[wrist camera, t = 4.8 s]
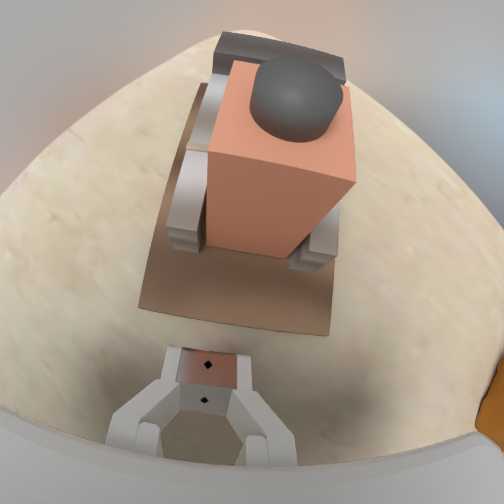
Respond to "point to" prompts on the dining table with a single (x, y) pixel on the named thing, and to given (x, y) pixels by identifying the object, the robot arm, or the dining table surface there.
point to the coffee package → (493, 410)
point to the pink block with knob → (277, 155)
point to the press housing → (225, 260)
